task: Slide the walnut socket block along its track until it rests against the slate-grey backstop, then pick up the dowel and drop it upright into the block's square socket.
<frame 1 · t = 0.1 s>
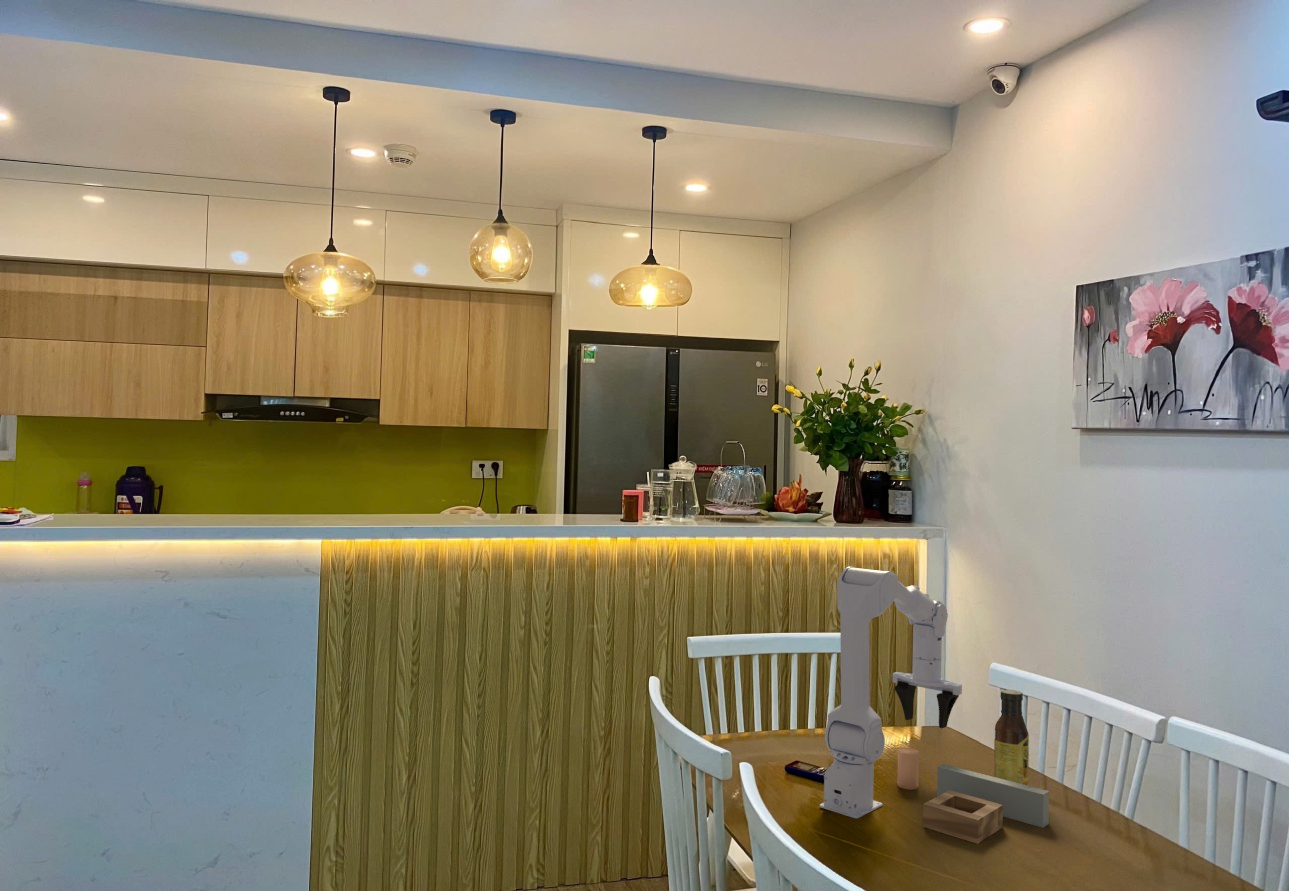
hand: (925, 722, 196), 10 cm above the table, tool pointing down, fingers open, 7 cm apart
dowel: (907, 786, 187), on the table
sauce bottle: (1010, 795, 184), on the table
backstop: (990, 810, 175), on the table
socket block: (962, 815, 167), point 2 cm above the table, slide at 0.0 cm
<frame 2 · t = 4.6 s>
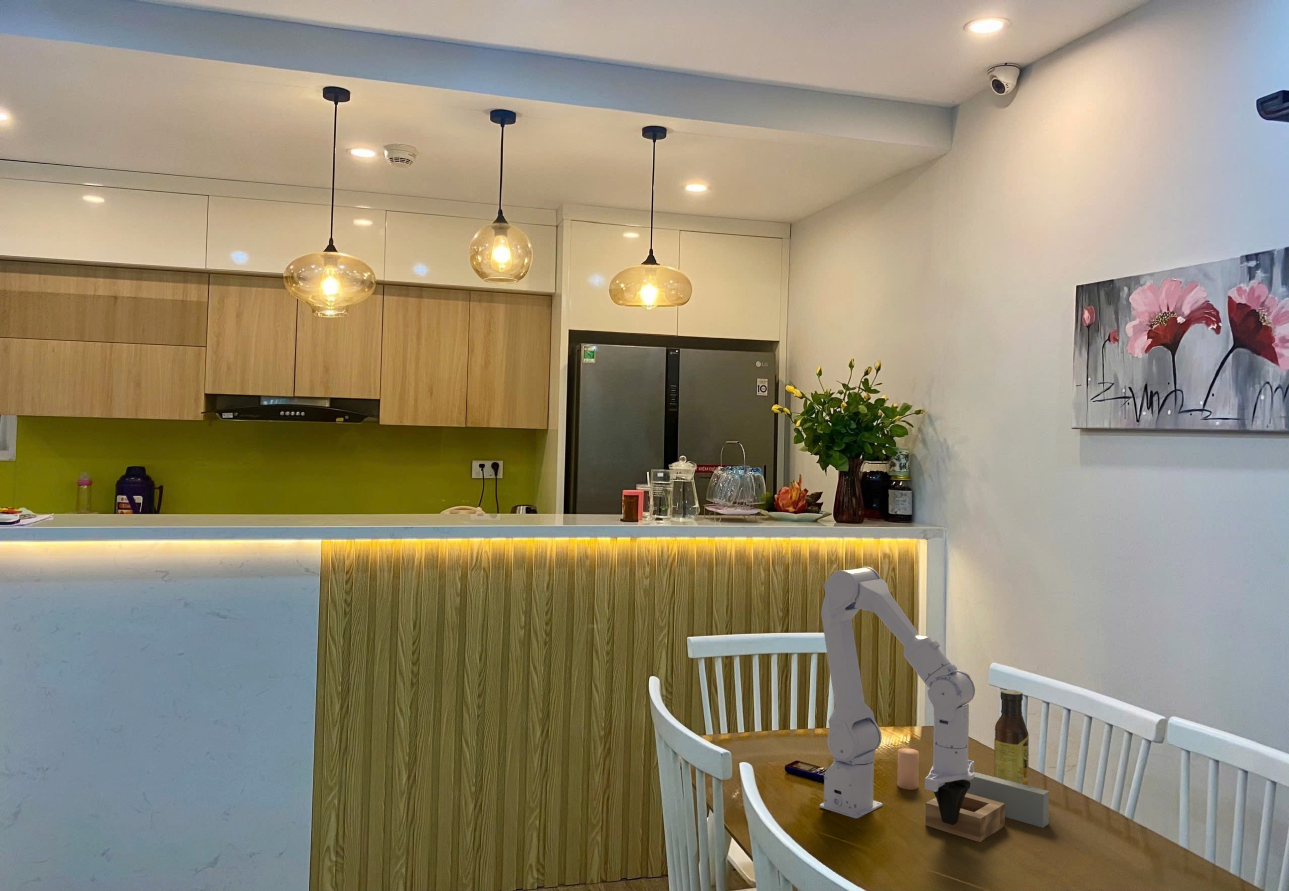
hand: (949, 822, 163), 2 cm above the table, tool pointing down, fingers closed
socket block: (965, 814, 168), point 2 cm above the table, slide at 0.9 cm, touching gripper
everything else where it was.
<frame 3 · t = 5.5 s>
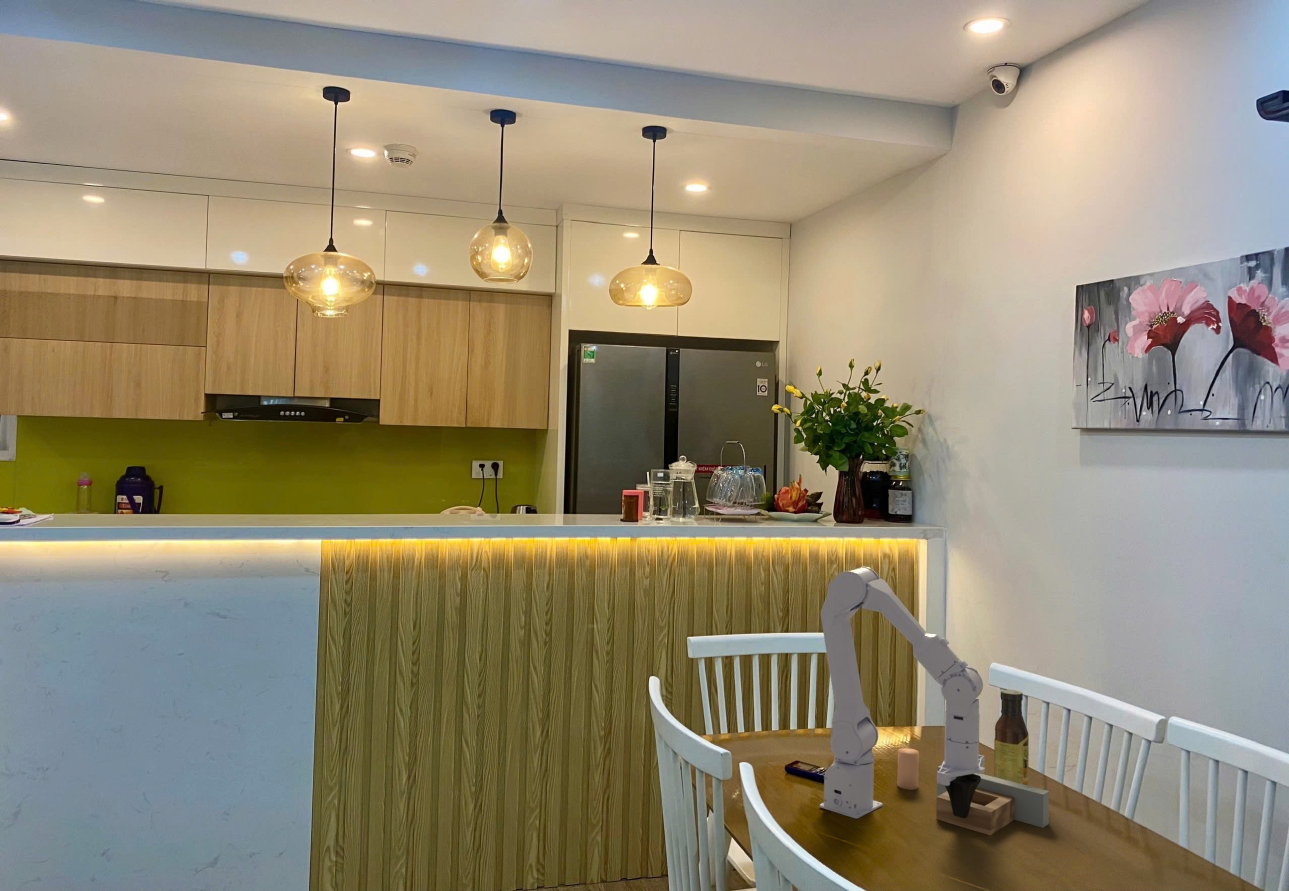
hand: (960, 816, 166), 2 cm above the table, tool pointing down, fingers closed
socket block: (975, 808, 171), point 2 cm above the table, slide at 5.0 cm, touching gripper
everything else where it was.
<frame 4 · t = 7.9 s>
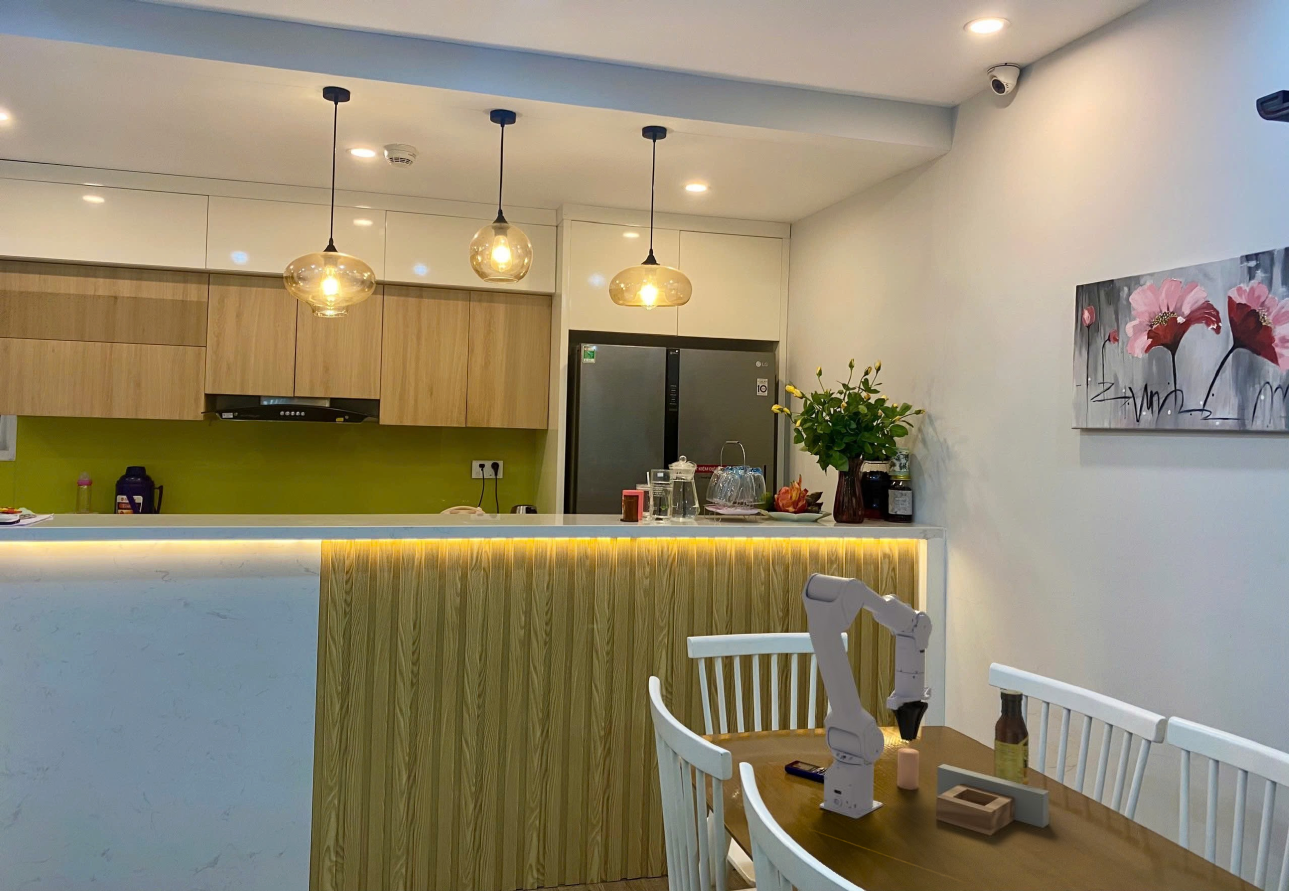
hand: (908, 739, 187), 9 cm above the table, tool pointing down, fingers closed
socket block: (975, 808, 171), point 2 cm above the table, slide at 5.0 cm
everything else where it was.
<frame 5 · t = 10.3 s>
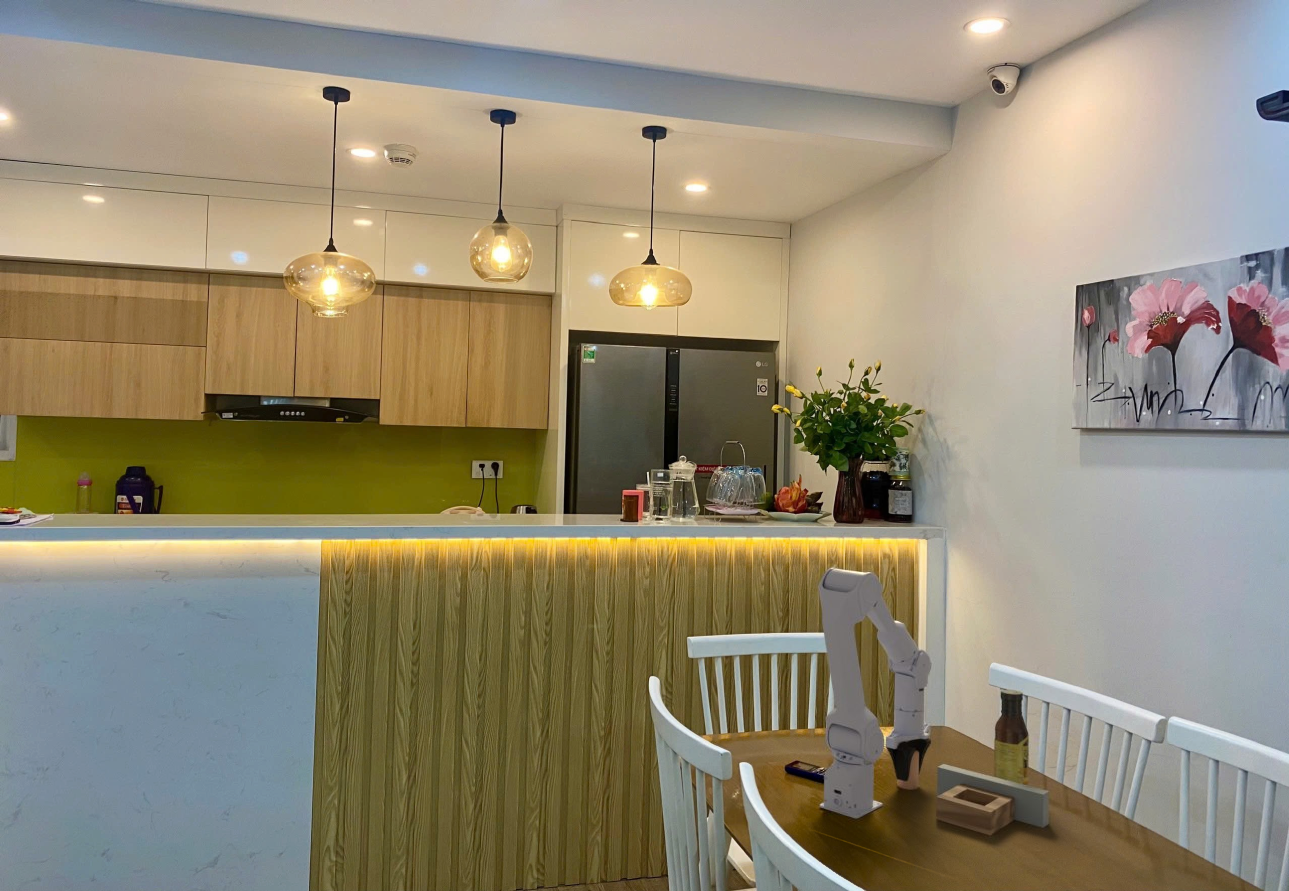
hand: (907, 776, 187), 2 cm above the table, tool pointing down, fingers closed on dowel, 4 cm apart
dowel: (907, 786, 187), on the table, touching gripper
everything else where it was.
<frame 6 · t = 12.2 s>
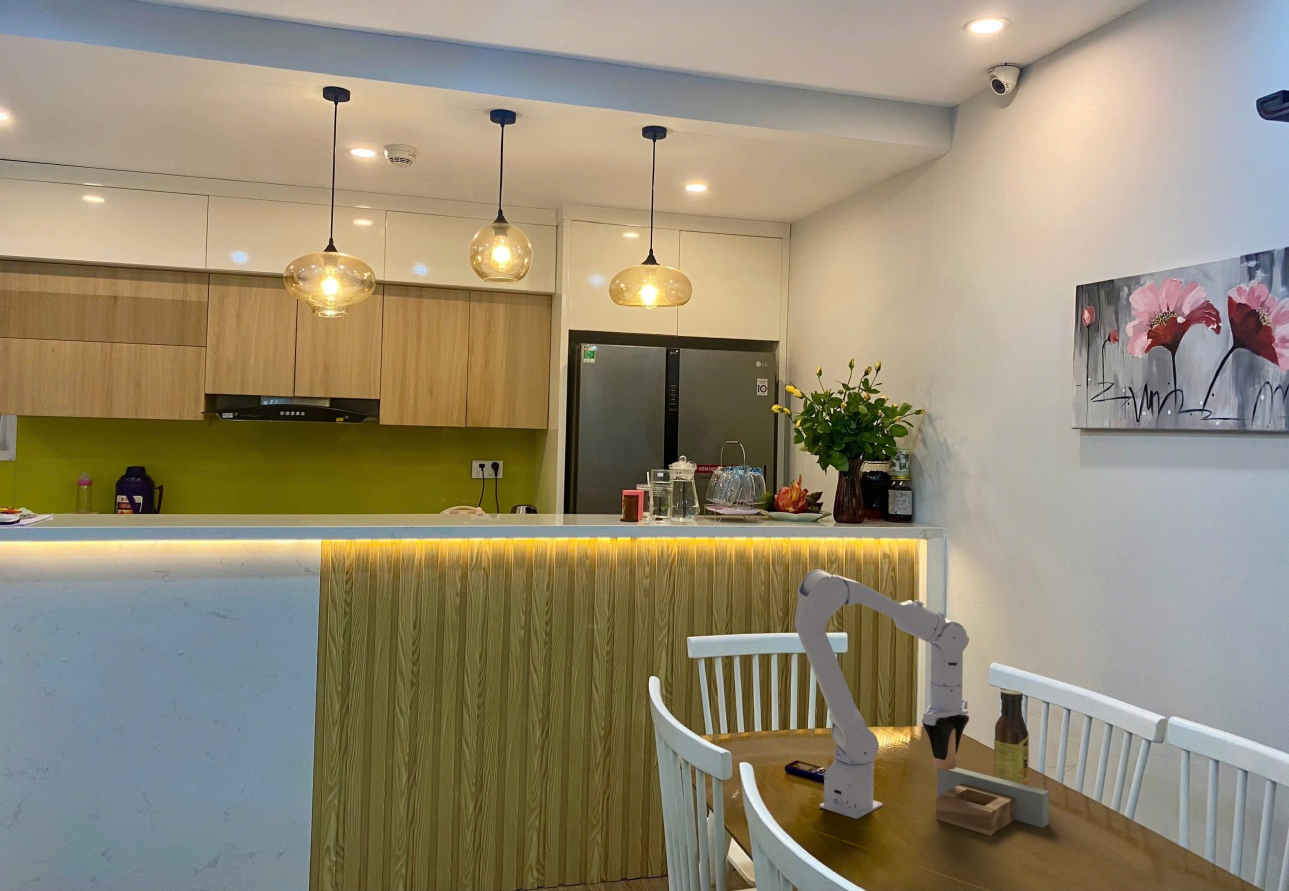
hand: (945, 755, 178), 9 cm above the table, tool pointing down, fingers closed on dowel, 4 cm apart
dowel: (944, 766, 178), point 7 cm above the table, touching gripper
everything else where it was.
when the fingers open (5 cm above the table, at t = 14.0 s): dowel drops 2 cm, resting on socket block.
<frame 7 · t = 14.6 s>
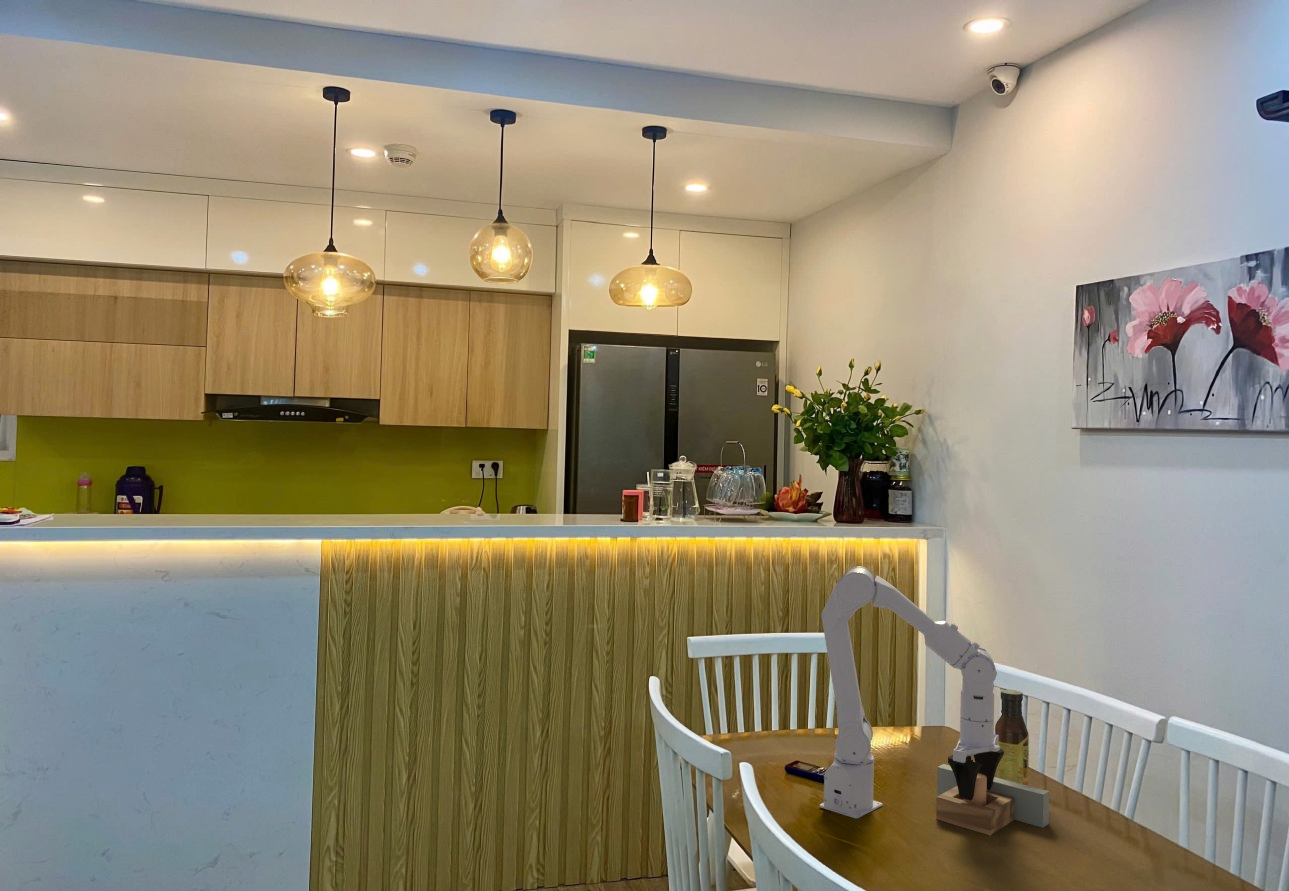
hand: (975, 793, 171), 5 cm above the table, tool pointing down, fingers open, 7 cm apart
dowel: (974, 814, 171), point 1 cm above the table, touching socket block
socket block: (975, 808, 171), point 2 cm above the table, slide at 5.0 cm, touching dowel
everything else where it was.
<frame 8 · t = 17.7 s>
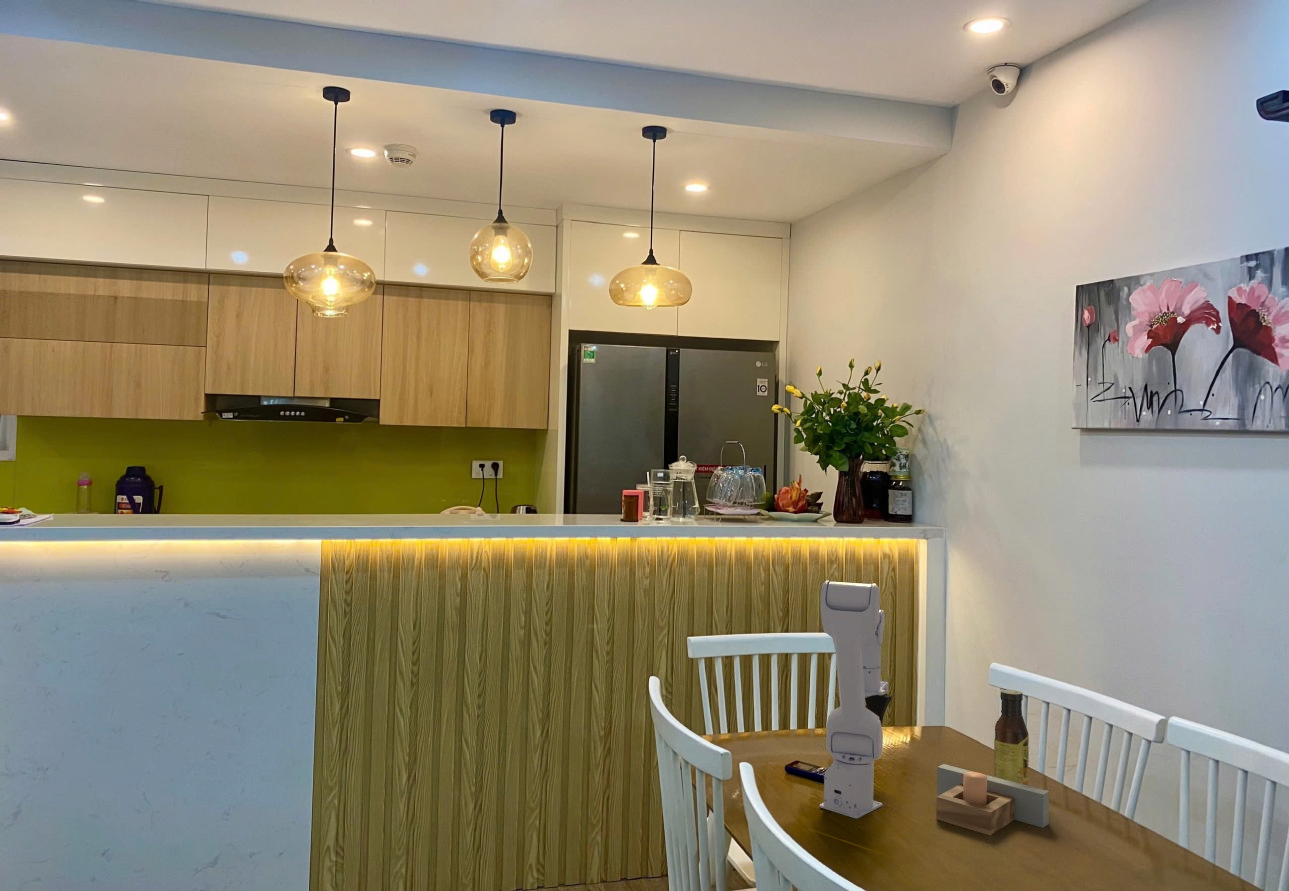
hand: (864, 733, 191), 9 cm above the table, tool pointing down, fingers open, 7 cm apart
nothing on the table moved.
at the end: socket block slide at 5.0 cm; dowel 0.2 cm from the target spot, point 1.1 cm above the table; dowel tilted 2° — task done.
